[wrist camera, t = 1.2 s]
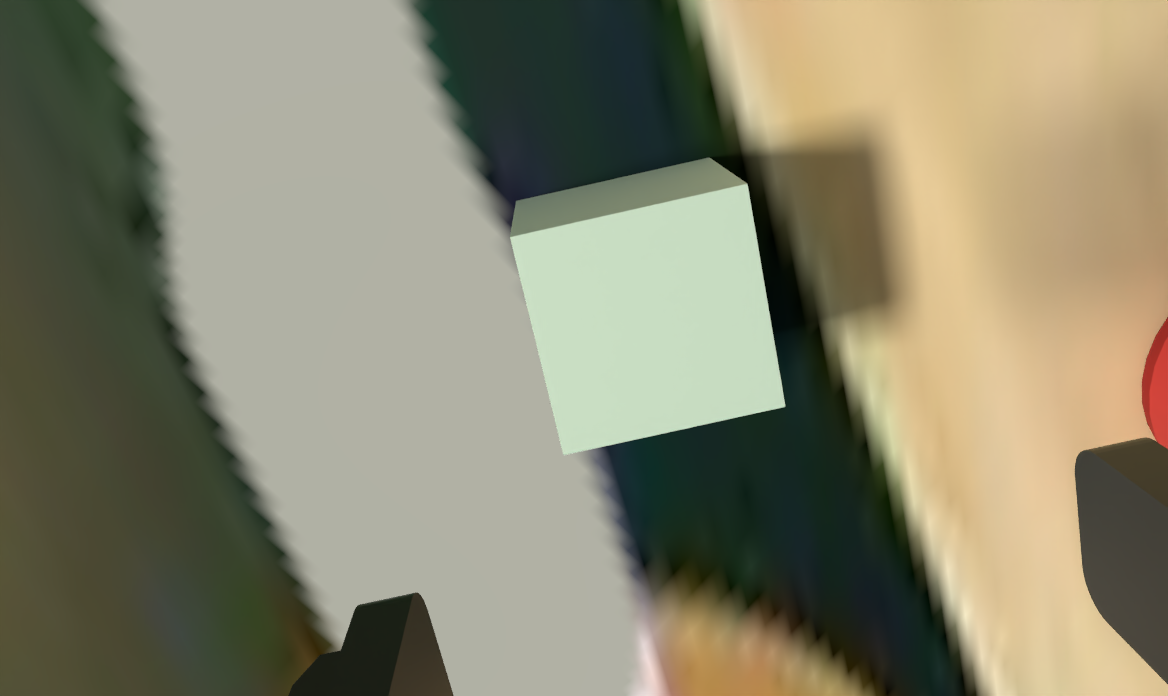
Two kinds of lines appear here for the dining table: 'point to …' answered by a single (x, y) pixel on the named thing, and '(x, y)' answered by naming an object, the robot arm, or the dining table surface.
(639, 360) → the sage block
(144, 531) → the dining table surface
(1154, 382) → the canned food
